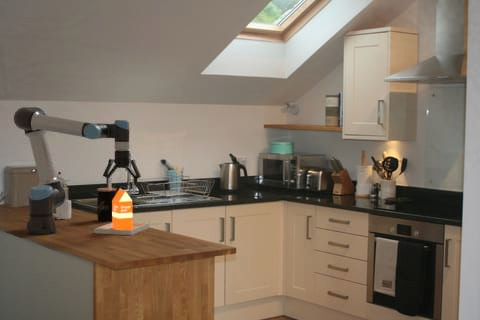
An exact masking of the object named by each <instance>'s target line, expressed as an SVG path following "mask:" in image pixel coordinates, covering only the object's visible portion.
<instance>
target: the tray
mask: <svg viewBox="0 0 480 320" xmlns="http://www.w3.org/2000/svg"><path fill="white" fill-rule="evenodd" d="M132 227H133V229H126V230H117V229H114V228H112V222H109V223H107V224H104V225H100V226H99V227H96V228H94V234H99V235H100V234H103V235H104V234H105V235H120V236H121V235H123V236H132V235H135V234H137V233H140V232H142V231H145V230H147V229H150V223H149V222H135V221H132Z"/></svg>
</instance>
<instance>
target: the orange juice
mask: <svg viewBox="0 0 480 320" xmlns="http://www.w3.org/2000/svg"><path fill="white" fill-rule="evenodd" d="M132 222H133V200H132V198H131V197H130V195H129V194H128V192H127V191H126V190H123V189H121V188H120V189H118V191H116V195H115V197H114V199H113V200H112V221H111V223H112V228H114V229H117V230H126V229H133V227H132Z"/></svg>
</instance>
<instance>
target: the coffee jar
mask: <svg viewBox="0 0 480 320" xmlns="http://www.w3.org/2000/svg"><path fill="white" fill-rule="evenodd" d="M96 190H97V194H96V197H97V199H96V200H97V203H96V204H97V205H96V206H97V207H96V208H97V214H96V215H97V220H98V221H99V222H102V221H110V222H112V200H113V199H114V197H115V195H116V194H117V188H115V187H112V190H110V191H108V187H99V188H96Z"/></svg>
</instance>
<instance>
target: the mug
mask: <svg viewBox="0 0 480 320" xmlns="http://www.w3.org/2000/svg"><path fill="white" fill-rule="evenodd" d="M55 209H56V210H55V211H56V213H54V212H53V217H56V220H60V219H65V220H70V219H71V218H72V200H70V199H66V201H65V202H64V203H63V204H62V205H61V206H59V207H57V208H55Z"/></svg>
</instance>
